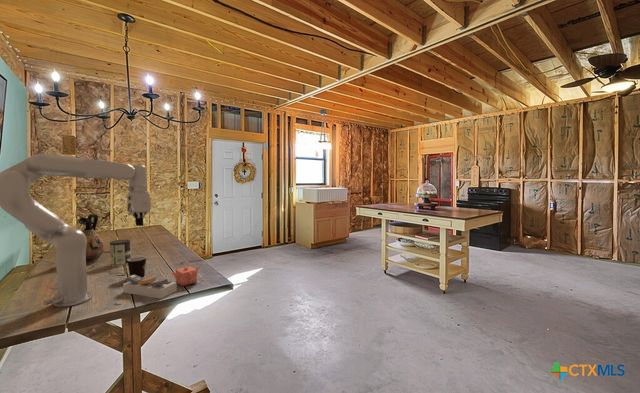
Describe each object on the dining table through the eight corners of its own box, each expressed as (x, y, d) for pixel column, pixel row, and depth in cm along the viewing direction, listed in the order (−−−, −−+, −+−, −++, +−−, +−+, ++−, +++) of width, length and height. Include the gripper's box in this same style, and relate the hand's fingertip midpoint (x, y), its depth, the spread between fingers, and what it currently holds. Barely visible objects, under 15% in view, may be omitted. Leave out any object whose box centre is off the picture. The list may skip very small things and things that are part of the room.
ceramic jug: (91, 265, 169) (89, 216, 167) (66, 265, 169) (63, 216, 167) (112, 257, 186) (110, 212, 183) (89, 257, 186) (87, 212, 184)
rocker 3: (160, 285, 125) (160, 281, 125) (150, 286, 127) (149, 282, 127) (168, 281, 129) (167, 278, 129) (157, 283, 130) (157, 279, 130)
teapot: (166, 284, 141) (166, 267, 140) (196, 276, 152) (196, 261, 151) (175, 290, 133) (174, 273, 132) (206, 282, 144) (205, 266, 143)
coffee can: (126, 260, 180) (125, 238, 179) (134, 263, 174) (133, 240, 173) (107, 264, 171) (106, 241, 170) (115, 267, 166) (114, 244, 165)
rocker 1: (136, 284, 129) (136, 281, 129) (126, 280, 131) (126, 276, 130) (143, 281, 133) (144, 278, 133) (134, 277, 134) (134, 273, 134)
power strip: (161, 298, 124) (160, 288, 124) (115, 291, 132) (114, 281, 131) (176, 290, 133) (176, 281, 132) (132, 284, 140) (132, 275, 140)
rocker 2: (148, 282, 127) (147, 279, 127) (138, 284, 129) (137, 281, 129) (155, 279, 131) (155, 276, 131) (146, 281, 132) (145, 278, 132)
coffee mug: (137, 280, 145) (136, 261, 145) (123, 279, 147) (122, 260, 146) (155, 273, 157) (154, 255, 156) (141, 271, 158) (141, 254, 158)
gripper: (130, 190, 132) (131, 228, 134) (156, 189, 147) (157, 223, 148) (118, 190, 134) (119, 227, 136) (145, 188, 149) (146, 223, 150)
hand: (139, 225), depth 142 cm, fingers closed
